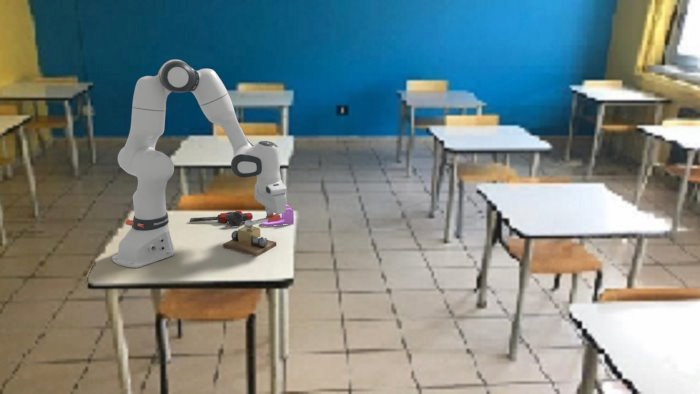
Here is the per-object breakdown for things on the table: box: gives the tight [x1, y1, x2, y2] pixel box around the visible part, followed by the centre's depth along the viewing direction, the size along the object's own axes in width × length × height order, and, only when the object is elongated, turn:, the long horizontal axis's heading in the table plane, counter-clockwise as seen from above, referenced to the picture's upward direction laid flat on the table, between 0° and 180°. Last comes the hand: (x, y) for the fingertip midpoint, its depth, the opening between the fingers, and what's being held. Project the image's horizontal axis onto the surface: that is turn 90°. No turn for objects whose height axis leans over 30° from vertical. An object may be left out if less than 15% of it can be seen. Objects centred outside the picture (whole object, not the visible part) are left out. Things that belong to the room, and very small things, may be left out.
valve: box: [189, 209, 254, 227], centre depth 255 cm, size 6×26×15 cm
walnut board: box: [222, 238, 277, 258], centre depth 229 cm, size 12×16×2 cm
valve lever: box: [244, 213, 282, 228], centre depth 229 cm, size 14×3×2 cm, turn 127°
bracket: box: [260, 204, 295, 227], centre depth 251 cm, size 13×6×7 cm, turn 110°
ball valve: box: [230, 225, 269, 248], centre depth 227 cm, size 6×15×7 cm, turn 60°
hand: (270, 217), depth 234 cm, fingers closed
